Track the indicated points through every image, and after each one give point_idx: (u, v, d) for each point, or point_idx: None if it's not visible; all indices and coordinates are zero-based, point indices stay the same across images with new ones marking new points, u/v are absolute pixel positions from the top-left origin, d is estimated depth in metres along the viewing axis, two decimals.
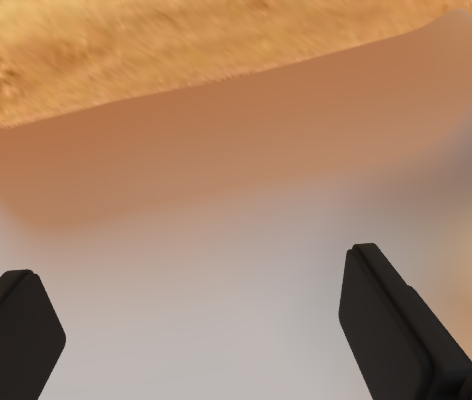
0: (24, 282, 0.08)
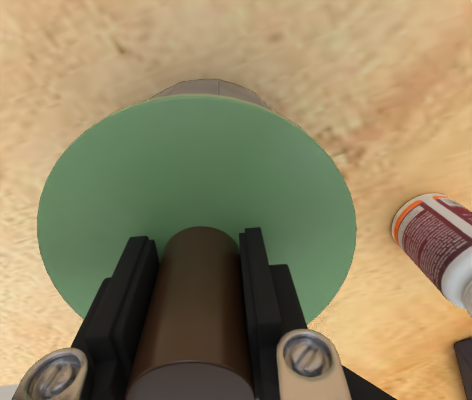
0: (149, 245, 0.09)
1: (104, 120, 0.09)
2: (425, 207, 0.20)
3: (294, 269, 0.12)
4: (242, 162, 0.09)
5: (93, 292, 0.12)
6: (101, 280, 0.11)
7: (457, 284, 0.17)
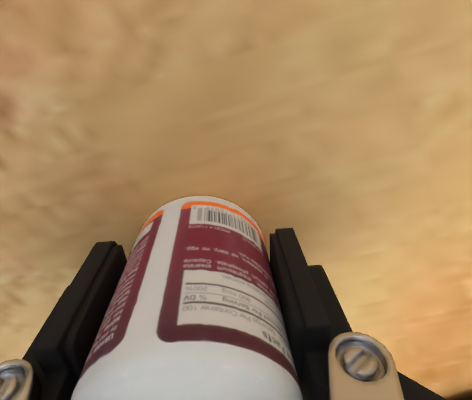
0: (115, 251, 0.09)
1: None
2: (152, 227, 0.09)
3: None
4: None
5: None
6: None
7: None
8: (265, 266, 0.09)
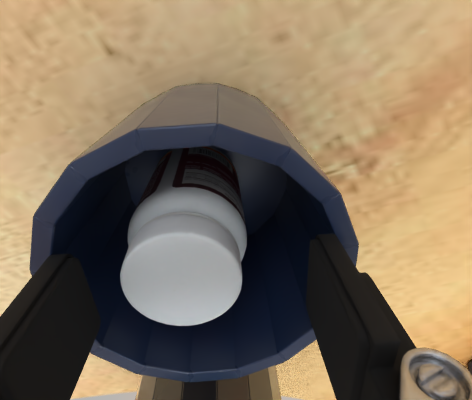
0: (68, 265, 0.09)
1: None
2: (166, 158, 0.15)
3: None
4: None
5: None
6: None
7: None
8: (233, 178, 0.15)
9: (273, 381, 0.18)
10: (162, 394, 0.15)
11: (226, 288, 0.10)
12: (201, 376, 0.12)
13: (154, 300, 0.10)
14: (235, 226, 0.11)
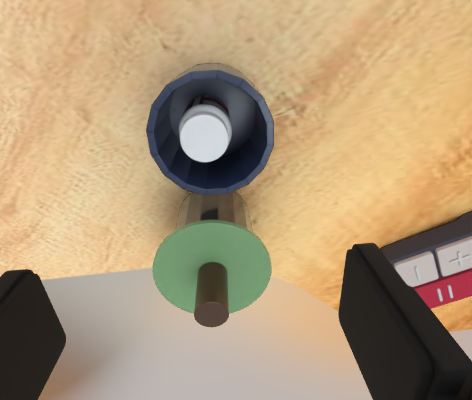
0: (24, 282, 0.08)
1: (181, 229, 0.27)
2: (192, 100, 0.30)
3: (248, 277, 0.30)
4: (227, 241, 0.28)
5: (170, 286, 0.30)
6: (173, 281, 0.29)
7: None
8: (226, 109, 0.30)
9: (248, 226, 0.33)
10: (190, 220, 0.30)
11: (222, 142, 0.25)
12: (211, 191, 0.27)
13: (192, 147, 0.25)
14: (226, 121, 0.26)
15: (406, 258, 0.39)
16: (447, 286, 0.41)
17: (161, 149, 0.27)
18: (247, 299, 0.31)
